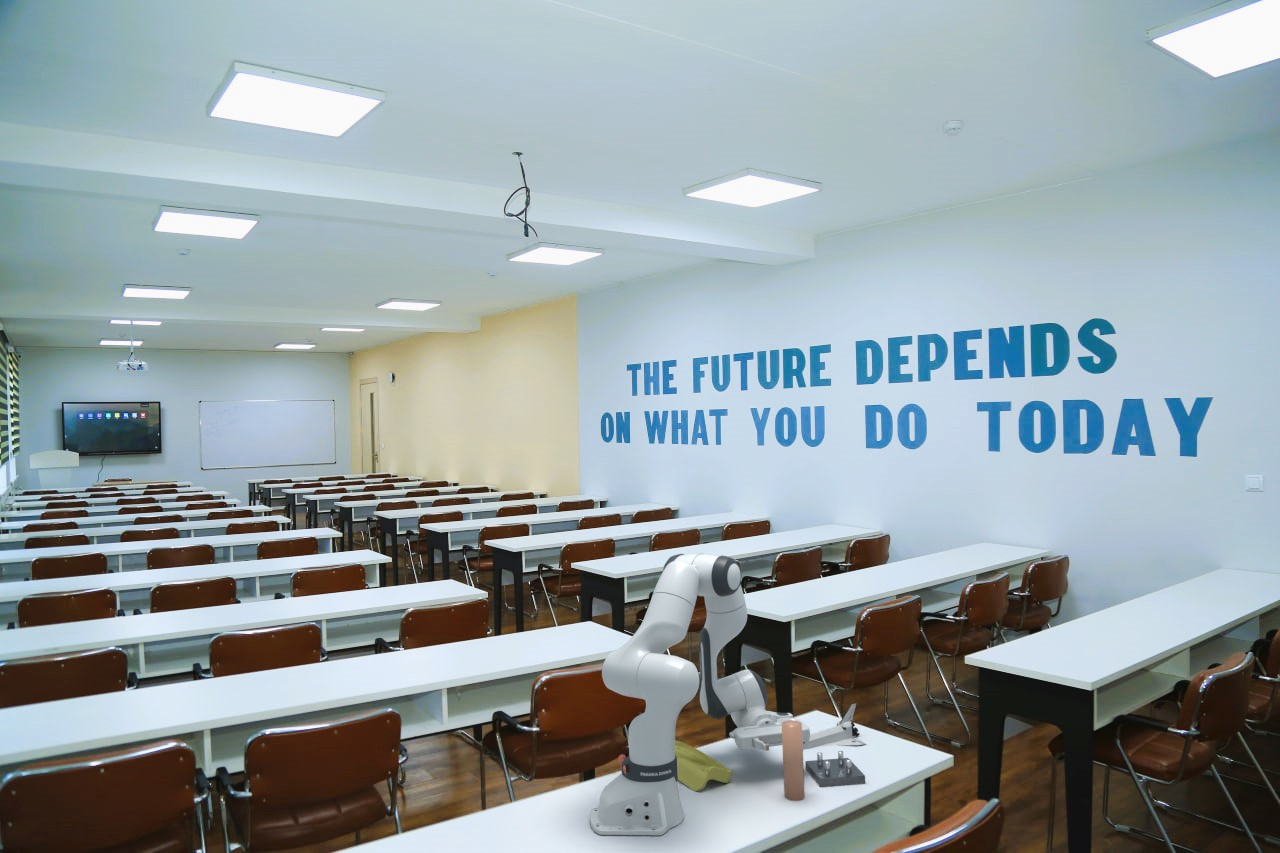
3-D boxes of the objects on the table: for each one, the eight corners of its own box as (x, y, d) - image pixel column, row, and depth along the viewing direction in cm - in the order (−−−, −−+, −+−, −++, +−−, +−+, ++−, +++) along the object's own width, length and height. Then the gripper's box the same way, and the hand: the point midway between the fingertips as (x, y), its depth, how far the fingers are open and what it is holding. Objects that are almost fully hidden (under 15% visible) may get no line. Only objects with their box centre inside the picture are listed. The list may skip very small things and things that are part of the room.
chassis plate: (820, 787, 204) (819, 767, 204) (805, 768, 215) (804, 749, 216) (865, 783, 205) (864, 763, 205) (848, 765, 217) (847, 746, 217)
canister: (787, 801, 196) (784, 727, 196) (781, 792, 201) (779, 721, 201) (807, 799, 196) (804, 726, 197) (801, 791, 201) (798, 719, 202)
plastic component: (736, 773, 208) (708, 765, 204) (726, 801, 207) (698, 794, 202) (691, 745, 225) (665, 737, 220) (682, 771, 224) (655, 763, 219)
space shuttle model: (774, 744, 236) (773, 710, 236) (840, 728, 246) (839, 696, 247) (806, 761, 222) (805, 725, 222) (875, 744, 232) (874, 710, 233)
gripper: (726, 720, 215) (745, 738, 202) (796, 712, 220) (819, 728, 207) (727, 744, 215) (746, 763, 201) (796, 735, 220) (819, 753, 206)
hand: (783, 745), depth 204 cm, fingers open, 8 cm apart
